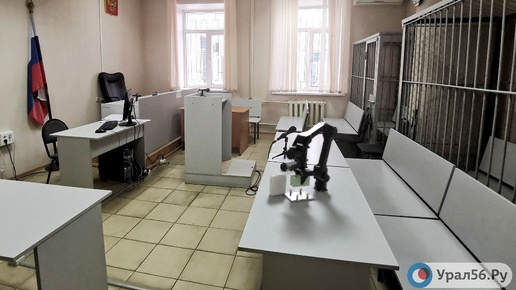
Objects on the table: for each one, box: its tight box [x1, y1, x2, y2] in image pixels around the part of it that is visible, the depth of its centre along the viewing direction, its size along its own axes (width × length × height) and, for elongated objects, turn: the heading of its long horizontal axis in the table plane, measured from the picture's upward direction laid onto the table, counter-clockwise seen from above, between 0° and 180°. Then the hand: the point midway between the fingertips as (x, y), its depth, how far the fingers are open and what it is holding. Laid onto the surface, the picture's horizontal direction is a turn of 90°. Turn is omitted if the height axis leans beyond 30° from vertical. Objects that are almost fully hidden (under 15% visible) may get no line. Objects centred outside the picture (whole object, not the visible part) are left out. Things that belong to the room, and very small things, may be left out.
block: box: [289, 174, 311, 188], centre depth 185 cm, size 10×4×6 cm, turn 110°
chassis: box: [283, 187, 315, 203], centre depth 187 cm, size 14×11×4 cm
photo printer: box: [268, 172, 287, 197], centre depth 190 cm, size 10×4×12 cm, turn 123°
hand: (299, 183), depth 186 cm, fingers closed on block, 4 cm apart
